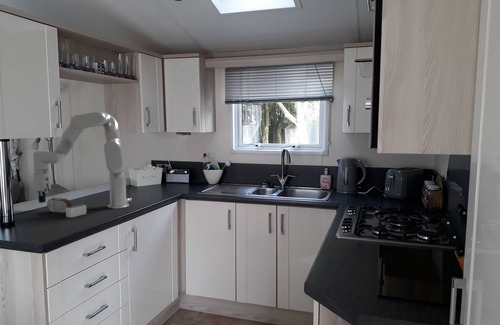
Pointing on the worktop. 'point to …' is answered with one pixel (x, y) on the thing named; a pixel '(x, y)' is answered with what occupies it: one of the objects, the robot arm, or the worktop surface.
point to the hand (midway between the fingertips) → (42, 202)
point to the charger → (75, 210)
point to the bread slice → (58, 205)
